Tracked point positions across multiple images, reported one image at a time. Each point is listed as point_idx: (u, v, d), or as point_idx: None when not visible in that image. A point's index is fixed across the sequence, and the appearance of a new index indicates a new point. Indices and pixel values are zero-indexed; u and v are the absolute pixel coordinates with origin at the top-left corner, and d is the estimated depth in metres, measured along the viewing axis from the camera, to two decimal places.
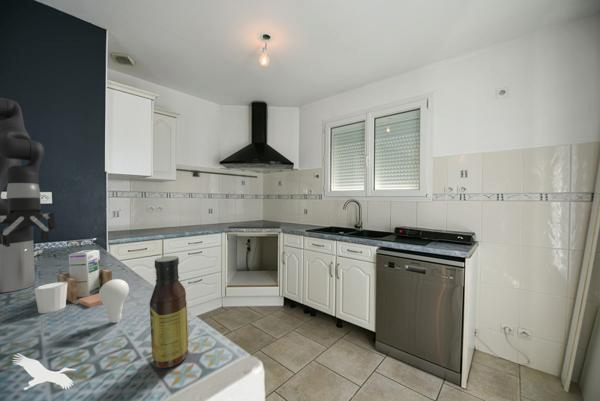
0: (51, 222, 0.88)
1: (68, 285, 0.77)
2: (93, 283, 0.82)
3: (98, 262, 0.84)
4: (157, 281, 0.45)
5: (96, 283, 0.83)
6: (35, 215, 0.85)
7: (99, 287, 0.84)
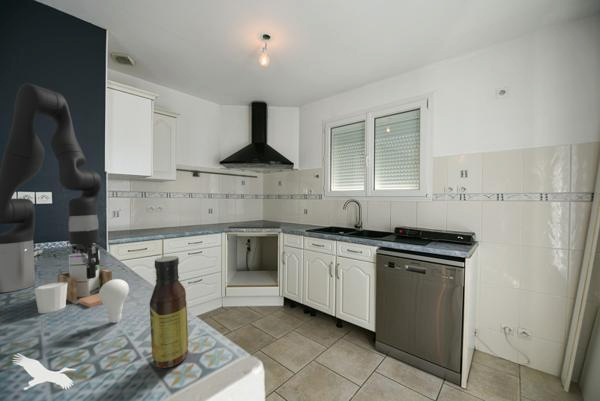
0: None
1: (68, 285, 0.77)
2: (93, 283, 0.82)
3: None
4: (157, 281, 0.45)
5: (96, 283, 0.83)
6: None
7: (99, 287, 0.84)
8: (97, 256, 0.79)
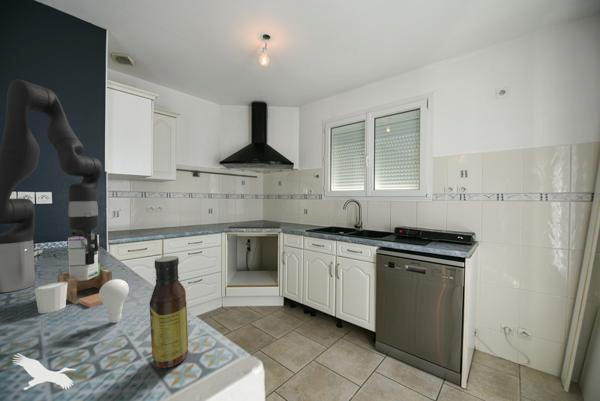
0: None
1: (68, 285, 0.77)
2: (92, 267, 0.82)
3: None
4: (157, 281, 0.45)
5: (95, 267, 0.83)
6: None
7: (98, 271, 0.84)
8: (96, 242, 0.79)
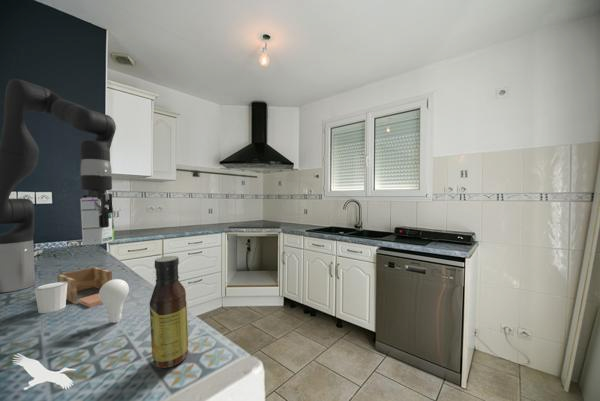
0: None
1: (68, 285, 0.77)
2: (106, 231, 0.76)
3: None
4: (157, 281, 0.45)
5: (109, 232, 0.77)
6: None
7: (112, 237, 0.79)
8: (111, 203, 0.74)
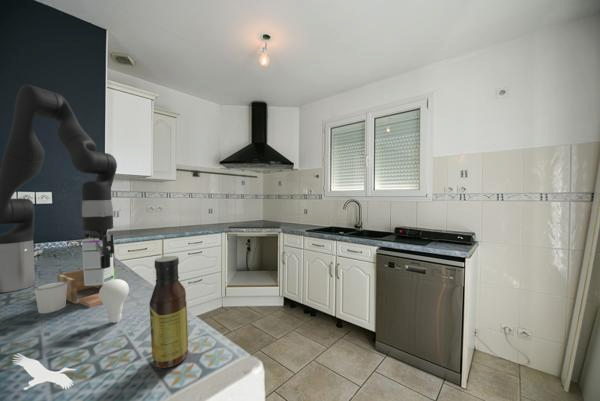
0: None
1: (68, 285, 0.77)
2: (108, 271, 0.76)
3: None
4: (157, 281, 0.45)
5: (110, 271, 0.77)
6: None
7: (114, 275, 0.79)
8: (112, 244, 0.74)
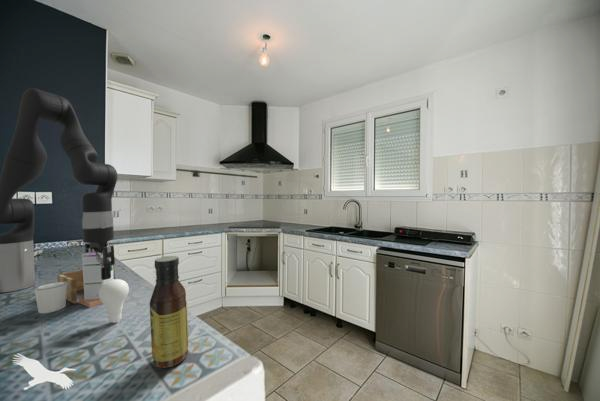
0: None
1: (68, 285, 0.77)
2: None
3: None
4: (157, 281, 0.45)
5: None
6: None
7: None
8: (113, 255, 0.74)
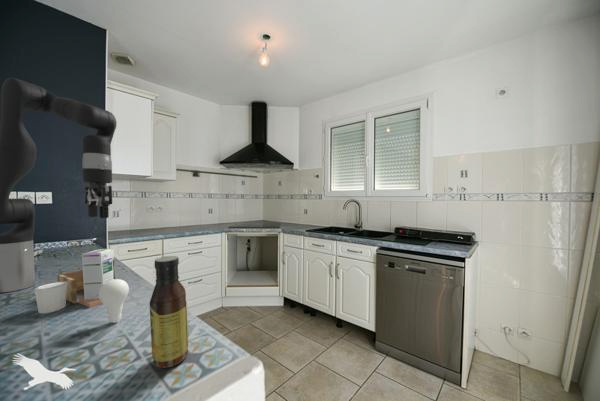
0: None
1: (68, 285, 0.77)
2: None
3: (112, 262, 0.79)
4: (157, 281, 0.45)
5: None
6: None
7: None
8: (110, 195, 0.77)
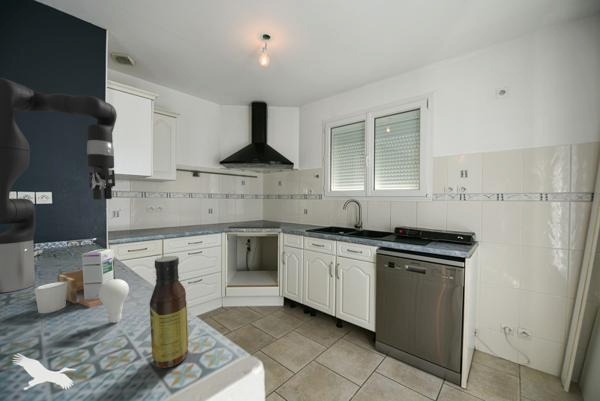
0: None
1: (68, 285, 0.77)
2: None
3: (112, 262, 0.79)
4: (157, 281, 0.45)
5: None
6: None
7: None
8: (113, 178, 0.85)
